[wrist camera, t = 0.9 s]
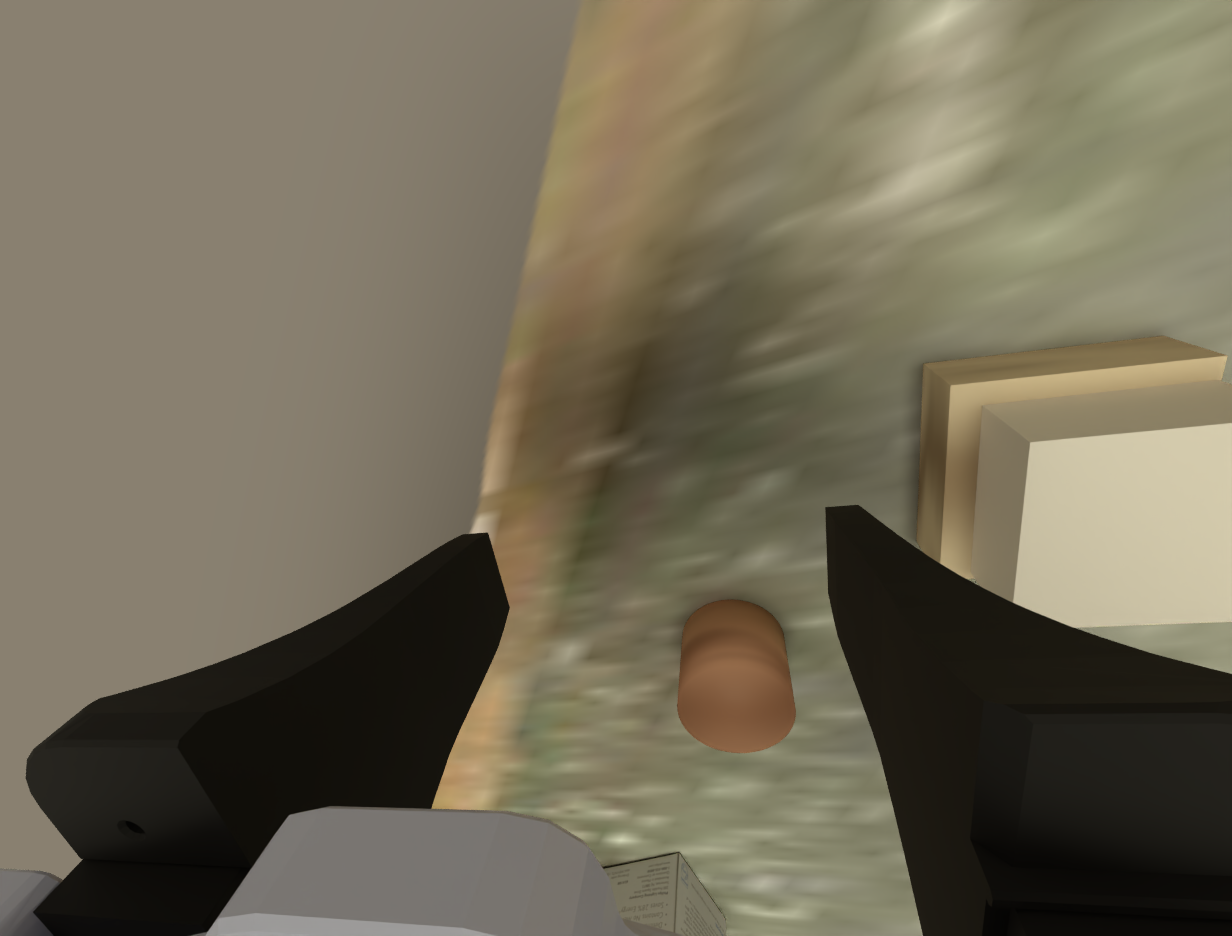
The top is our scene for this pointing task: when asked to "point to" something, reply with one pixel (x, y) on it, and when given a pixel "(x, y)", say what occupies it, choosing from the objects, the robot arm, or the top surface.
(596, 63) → the top surface
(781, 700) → the cylinder
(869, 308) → the top surface
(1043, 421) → the tower top
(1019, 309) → the top surface
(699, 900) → the light bulb box
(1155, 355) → the tower base
